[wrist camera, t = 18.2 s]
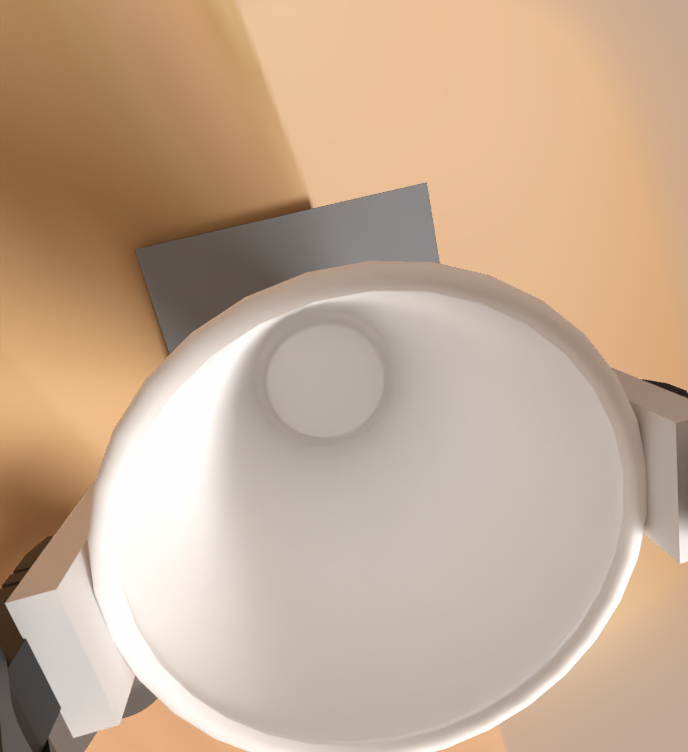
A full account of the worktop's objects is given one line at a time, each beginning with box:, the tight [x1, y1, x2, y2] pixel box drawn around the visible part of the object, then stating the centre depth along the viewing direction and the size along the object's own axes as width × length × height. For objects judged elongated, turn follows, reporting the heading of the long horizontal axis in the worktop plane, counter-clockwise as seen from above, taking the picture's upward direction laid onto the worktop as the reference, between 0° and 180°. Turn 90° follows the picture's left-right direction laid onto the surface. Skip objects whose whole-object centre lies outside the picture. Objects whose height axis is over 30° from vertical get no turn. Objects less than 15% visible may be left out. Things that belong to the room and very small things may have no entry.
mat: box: [135, 183, 440, 354], centre depth 23 cm, size 12×12×1 cm
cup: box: [87, 261, 647, 752], centre depth 14 cm, size 10×10×11 cm
